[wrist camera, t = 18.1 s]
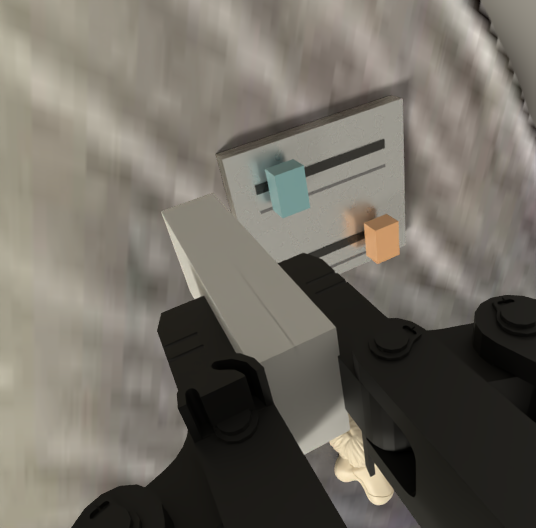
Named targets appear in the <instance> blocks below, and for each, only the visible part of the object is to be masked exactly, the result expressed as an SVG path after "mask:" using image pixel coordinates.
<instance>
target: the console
mask: <svg viewBox="0 0 536 528" xmlns="http://www.w3.org/2000/svg"><path fill="white" fill-rule="evenodd" d="M215 155H216V158H217V162H218V166H219V170H220V173H221V177H222V181H223V185H224V188H225V192H226V196H227V200H228V204H229V207H230V211H231V213H232V214H233V216H234V217H235V218H236V219H237V220H238V221H239V222H240V223H241V224H242V225H243V226H244V228H245V229H246V230H247V231H248V232H249V233H250V234H251V235H252V236H253V237H254V238H255V240H256V241H257V242H258V243H259V244H260V245H261V246H262V247H263V248H264V249H265V250H266V252H267V253H268V254H269V255H270V256H271V257H272V258H273V259H274V260H275V261H276V262H277V263H280V262H282V261H284V260H287V259H289V258H292V257H294V256H296V255H299V254H301V253H306V254H309V255H312V256H315V257H318V258H320V259H323V260H324V261H325V262H326V263H327V264H328V265H329V266H330V267H331V268H333V269H334V270H335V273H338V274H341V273H343V272H345V271H348V270H350V269H352V268H355V267H357V266H359V265H362V264H364V263H366V262H368V261H371V260H372V259H370V258H369V257H368V256H366V244H365V231H364V223H365V222H368V221H370V220H373V219H375V218H377V217H380V216H382V215H385V214H387V215H389V216H391V217H392V218H394V219H396V220H397V221H399V248H400V247H403V246H405V245H406V242H405V188H404V134H403V98H400V97H396V96H392V95H390V96H387V97H384V98H381V99H378V100H375V101H372V102H369V103H366V104H363V105H360V106H357V107H354V108H351V109H348V110H345V111H342V112H339V113H337V114H334V115H331V116H328V117H325V118H322V119H319V120H316V121H313V122H310V123H307V124H304V125H301V126H298V127H295V128H292V129H289V130H286V131H283V132H280V133H277V134H274V135H271V136H268V137H265V138H262V139H259V140H256V141H253V142H250V143H247V144H244V145H241V146H238V147H235V148H232V149H229V150H227V151H224V152H221V153H218V154H215ZM292 159H294V160H296V161H297V162H299V163H301V164H302V165H304V170H305V176H306V183H307V190H308V196H309V203H310V208H308V209H306V210H303V211H301V212H298V213H295V214H293V215H290V216H288V217H285V218H282V217H280V216H279V215H278V214H277V213H276V212H275V211H274V210H273V206H272V201H271V197H270V192H269V187H268V182H267V177H266V172H265V169H266V168H269V167H272V166H275V165H278V164H280V163H283V162H286V161H289V160H292Z"/></svg>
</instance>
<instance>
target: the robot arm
mask: <svg viewBox="0 0 536 528" xmlns="http://www.w3.org/2000/svg"><path fill="white" fill-rule="evenodd" d="M161 213H162V215H163V218H164V221H165V224H166V226H167V229H168V232H169V235H170V237H171V240H172V243H173V246H174V248H175V251H176V254H177V257H178V259H179V262H180V265H181V268H182V270H183V273H184V276H185V279H186V281H187V284H188V287H189V290H190V292H191V294H192V295H193V297H194V300H192V301H189V302H187V303H185V304H182V305H180V306H177V307H175V308H172V309H170V310H168V311H165V312H163V313H161V317H160V321H159V325H158V329H157V332H158V335H159V337H160V340H161V343H162V346H163V348H164V352H165V354H166V357H167V360H168V362H169V366H170V368H171V371H172V374H173V377H174V380H175V383H176V385H177V388H178V393H177V402H178V409H179V412H180V414H181V416H182V418H183V420H184V422H185V424H186V426H187V429H188V433H187V437H186V440H185V443H184V445H183V448H182V449H181V451H180V452H179V454H178V455H177V457H176V459H175V460H174V461H173V462H172V463H171V464H170V465H169V466H168V467H167V468H166V469H165V470H164V471H163V472H162V473H161V474H160V475H158V476H157V477H156V478H155V479H154V480H153V481H152V482H151V483H149V484H148V485H147V486H146V487H142V486H139V485H126V486H119V487H116V488H114V489H112V490H110V491H108V492H106V493H103V494H101V495H100V496H99V497H98V498H97V499H95V500H94V501H93V502H92V503H91V504H90V505H88V506H87V507H86V508H85V509H84V510H83V512H82V513H81V515H80V516H79V517H78V519H77V520H76V522H75V523H74V525H73V526H72V527H71V528H347V527H346V525H345V523H344V522H343V520H342V518H341V516H340V515H339V513H338V511H337V510H336V508H335V506H334V505H333V503H332V501H331V499H330V498H329V496H328V494H327V493H326V491H325V489H324V488H323V486H322V484H321V482H320V481H319V479H318V477H317V476H316V474H315V472H314V471H313V469H312V467H311V465H310V464H309V462H308V460H307V459H306V457H305V454H307V453H308V452H310V451H312V450H314V449H316V448H318V447H320V446H321V445H323V444H325V443H327V442H329V441H331V440H333V439H335V438H336V437H338V436H340V435H342V434H344V433H346V432H348V431H349V430H350V425H349V417H348V413H349V415H350V416H351V417H352V419H353V420H354V421H355V423H356V424H357V425H358V427H359V428H360V429H361V431H362V439H363V448H364V457H365V465H366V468H367V470H368V473H369V475H370V477H372V476H373V475H375V464H376V466H377V467H378V469H379V470H380V471H381V473H382V474H383V476H384V477H385V478H386V480H387V481H388V482H389V484H390V485H391V487H392V488H393V489H394V491H395V492H396V493H397V495H398V496H399V498H400V499H401V500H402V502H403V503H404V505H405V506H406V507H407V509H408V510H409V511H410V513H411V514H412V516H413V517H414V518H415V520H416V521H417V522H418V524H419V525H420V527H421V528H536V299H532V298H529V297H525V296H515V295H504V296H498V297H493V298H490V299H488V300H487V301H485V302H483V303H481V304H480V305H479V307H478V308H477V310H476V311H475V316H474V323H472V324H466V325H461V326H455V327H450V328H445V329H438V330H425V329H424V328H422V327H420V326H419V325H417V324H415V323H413V322H411V321H407V320H403V319H399V318H387V317H386V316H385V315H384V314H382V313H381V312H380V311H379V310H378V309H377V308H376V307H375V306H374V305H372V304H371V303H370V302H369V301H368V300H367V299H366V298H365V297H364V296H362V295H361V294H360V293H359V292H358V291H357V290H356V289H355V288H354V287H352V286H351V285H350V284H349V283H348V282H347V283H346V281H345V279H344V278H342V277H341V276H340V275H339V274H338V273H335V270H334V269H333V268H331V267H330V266H329V265H328V264H327V263H326V262H325V261H324V260H323V259H320V258H318V257H315V256H312V255H309V254H306V253H301V254H299V255H296V256H294V257H292V258H289V259H287V260H284V261H282V262H280V263H277V262H276V261H275V260H274V259H273V258H272V257H271V256H270V255H269V254H268V253H267V252H266V250H265V249H264V248H263V247H262V246H261V245H260V244H259V243H258V242H257V241H256V240H255V238H254V237H253V236H252V235H251V234H250V233H249V232H248V231H247V230H246V229H245V228H244V226H243V225H242V224H241V223H240V222H239V221H238V220H237V219H236V218H235V217H234V216H233V214H232V213H231V212H230V211H229V210H228V209H227V208H226V207H225V206H224V205H223V204H222V202H221V201H220V200H219V199H218V198H217V197H216V196H215V195H214V194H213V193H211V194H208V195H205V196H202V197H200V198H197V199H194V200H191V201H188V202H186V203H183V204H180V205H177V206H174V207H172V208H169V209H166V210H163V211H161ZM374 463H375V464H374Z"/></svg>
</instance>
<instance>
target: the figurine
mask: <svg viewBox="0 0 536 528" xmlns="http://www.w3.org/2000/svg"><path fill="white" fill-rule="evenodd" d="M348 417H349V425H350V430H349V431H348V432H346V433H344V434H342V435H340V436H338V437H336V438H335V439H333V440H331V441H329V442H330V445H331V446H333V448H334V449H335V450H336V451H337V452H339V455H340V456H339V457H338V458H337V460H336V463H335V469H334V470H335V474H336V476H337V478H338V479H339V480H341V481H343V482H350V481H353V480H357V481H359V482H360V483H361V484H362V486H363V488H364V490H365V493H366V495H367V497H368V499H369V500H370V501H371V502H372V503H373V504H375V505H382V504H385V503H386V502H387V501H388V500H389V499H390V498H391V497H392V495H393V492H394V489H393V488H392V487H391V485H390V484H389V482H388V481H387V480H386V478H385V477H384V476H383V474H382V473H381V471H380V470H379V469H378V467H377V466H376V464H375V463H374V464H375V475H373V476H372V477H370V475H369V473H368V470H367V468H366V465H365V457H364V448H363V439H362V431H361V429H360V428H359V427H358V425H357V424H356V423H355V421H354V420H353V419H352V417H351V416H350V415H349V413H348Z"/></svg>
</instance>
